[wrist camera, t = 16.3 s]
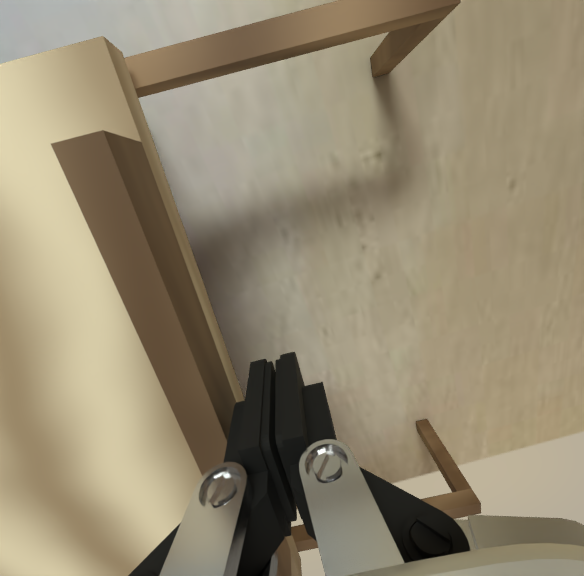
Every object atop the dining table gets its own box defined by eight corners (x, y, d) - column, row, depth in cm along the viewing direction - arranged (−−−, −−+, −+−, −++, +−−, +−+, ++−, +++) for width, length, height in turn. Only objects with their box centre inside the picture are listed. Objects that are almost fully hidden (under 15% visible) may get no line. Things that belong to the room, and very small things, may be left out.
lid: (122, 52, 9) (46, -12, 6) (300, 558, 16) (305, 638, 13) (-356, 180, 9) (-644, 179, 6) (33, 615, 17) (-17, 704, 14)
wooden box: (386, 53, 14) (459, -33, 9) (427, 427, 22) (480, 513, 16) (-144, 192, 15) (-395, 197, 9) (71, 506, 23) (2, 614, 17)
